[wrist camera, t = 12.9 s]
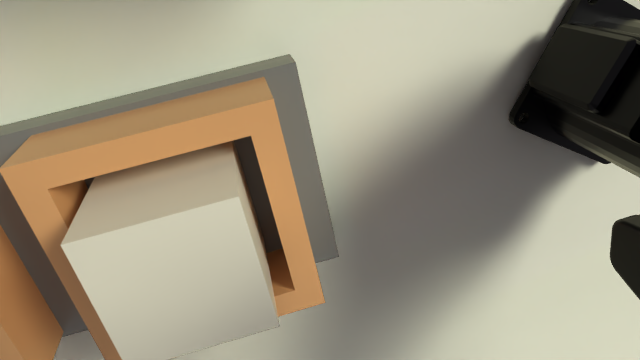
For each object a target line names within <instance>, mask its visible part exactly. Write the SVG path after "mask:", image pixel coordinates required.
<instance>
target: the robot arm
mask: <svg viewBox="0 0 640 360" xmlns="http://www.w3.org/2000/svg"><path fill="white" fill-rule="evenodd" d="M523 113H524V117H523V118H522V119H521V120H519V117H520V115H521V114H523ZM509 121H510V123H511V124H512V125H514V126H516V127H517V128H519V129H522V130H524V131H526V132H529V133H531V134H534V135H536V136H539V137H541V138H543V139H546V140H548V141H551V142H553V143H555V144H558V145H560V146H563V147H565V148H567V149H570V150H572V151H575V152H577V153H579V154H582V155H584V156H587V157H589V158H591V159H594V160H596V161H599V162H601V163H603V164H609V163H613V164H615V165H617V166H619V167H621V168H623V169H625V170H626V171H628V172H630V173H632V174H634V175H636V176H638V177H640V10H639V9H637V8H636V7H634V6H632V5H631V4H629V3H627V2H625V1H624V0H591V1H590V2H589V3H588V0H574V1H573V3H572V5H571V6H570V8H569V10H568V12H567V13H566V15H565V17H564V19H563V20H562V22H561V24H560V26H559V27H558V28H557V30H556V32H555V34H554V35H553V37H552V39H551V41H550V42H549V44H548V46H547V48H546V49H545V51H544V53H543V55H542V57H541V58H540V60H539V62H538V64H537V65H536V67H535V69H534V71H533V72H532V74H531V76H530V78H529V81H528V82H527V84H526V86H525V88H524V89H523V91H522V93H521V95H520V96H519V98H518V100H517V102H516V103H515V105H514V107H513V109H512V111H511V112H510V115H509ZM610 260H611V263H612V265H613V267H614V269H615V270H616V271H617V273H618V274H619V275H620V276H621V277H622V279H623V280H624V281H625V282H626V284H627V285H628V286H629V287H630V289H631V290H632V291H633V292H634V293H635V295H636V296H637V297H638V298H639V300H640V215H633V216H629V217H626V218H623V219H620V220H617V221H616V222H615V223H614V225H613V227H612V236H611V248H610Z"/></svg>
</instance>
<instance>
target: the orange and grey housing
mask: <svg viewBox="0 0 640 360" xmlns="http://www.w3.org/2000/svg"><path fill="white" fill-rule="evenodd" d="M336 257H339V255H338V250H337V246H336V241H335V237H334V232H333V228H332V223H331V219H330V215H329V210H328V206H327V201H326V197H325V192H324V188H323V183H322V179H321V174H320V170H319V165H318V161H317V156H316V152H315V147H314V143H313V138H312V134H311V129H310V125H309V120H308V116H307V111H306V107H305V103H304V98H303V94H302V89H301V85H300V80H299V76H298V71H297V67H296V62H295V61H294V59H293V58H292V57H291V55H290V54H288V55H284V56H280V57H276V58H272V59H268V60H264V61H260V62H256V63H252V64H248V65H244V66H240V67H236V68H232V69H228V70H224V71H220V72H216V73H212V74H208V75H204V76H200V77H196V78H192V79H188V80H184V81H180V82H176V83H172V84H168V85H164V86H160V87H156V88H152V89H148V90H144V91H140V92H136V93H132V94H128V95H124V96H120V97H116V98H112V99H108V100H104V101H100V102H96V103H92V104H88V105H84V106H79V107H75V108H71V109H67V110H63V111H59V112H55V113H51V114H47V115H43V116H39V117H35V118H31V119H27V120H23V121H19V122H15V123H11V124H7V125H3V126H0V360H53V358H54V356H55V353H56V350H57V348H58V345H59V342H60V340H61V337H64V336H67V335H71V334H74V333H78V332H81V331H84V330H89V332H90V333H91V335H92V337H93V339H94V341H95V342H96V344H97V346H98V348H99V349H100V351H101V353H102V355H103V357H104V358H105V360H169V359H173V358H176V357H179V356H183V355H186V354H189V353H192V352H196V351H199V350H202V349H206V348H209V347H212V346H216V345H219V344H222V343H226V342H229V341H232V340H236V339H239V338H242V337H246V336H249V335H252V334H256V333H259V332H262V331H266V330H269V329H272V328H276V327H279V326H280V324H279V319H278V317H279V316H282V315H285V314H289V313H292V312H295V311H299V310H302V309H306V308H309V307H312V306H316V305H319V304H322V303H325V300H324V296H323V292H322V288H321V284H320V280H319V276H318V272H317V268H316V264H315V263H318V262H322V261H325V260H329V259H332V258H336Z"/></svg>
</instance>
